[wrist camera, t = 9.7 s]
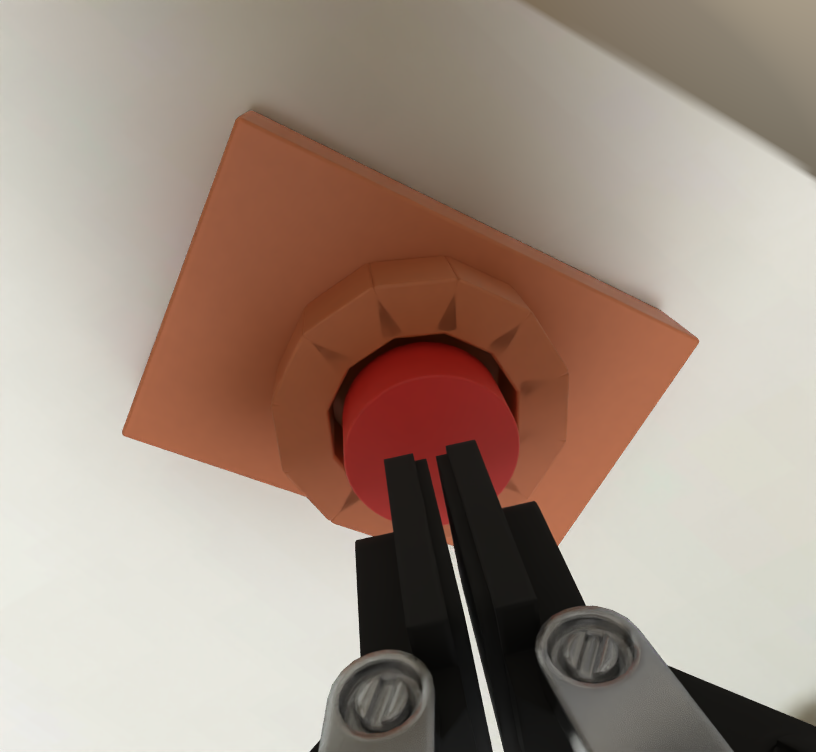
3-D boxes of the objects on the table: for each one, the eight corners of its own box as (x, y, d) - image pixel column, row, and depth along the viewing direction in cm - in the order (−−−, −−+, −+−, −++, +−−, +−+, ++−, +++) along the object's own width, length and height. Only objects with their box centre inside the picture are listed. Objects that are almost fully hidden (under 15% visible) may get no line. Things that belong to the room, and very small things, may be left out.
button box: (142, 395, 18) (95, 478, 14) (249, 108, 15) (223, 123, 12) (519, 527, 21) (557, 623, 18) (662, 311, 19) (742, 371, 15)
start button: (316, 451, 15) (314, 497, 14) (384, 315, 14) (390, 347, 12) (455, 501, 16) (468, 547, 15) (529, 377, 15) (552, 414, 13)
